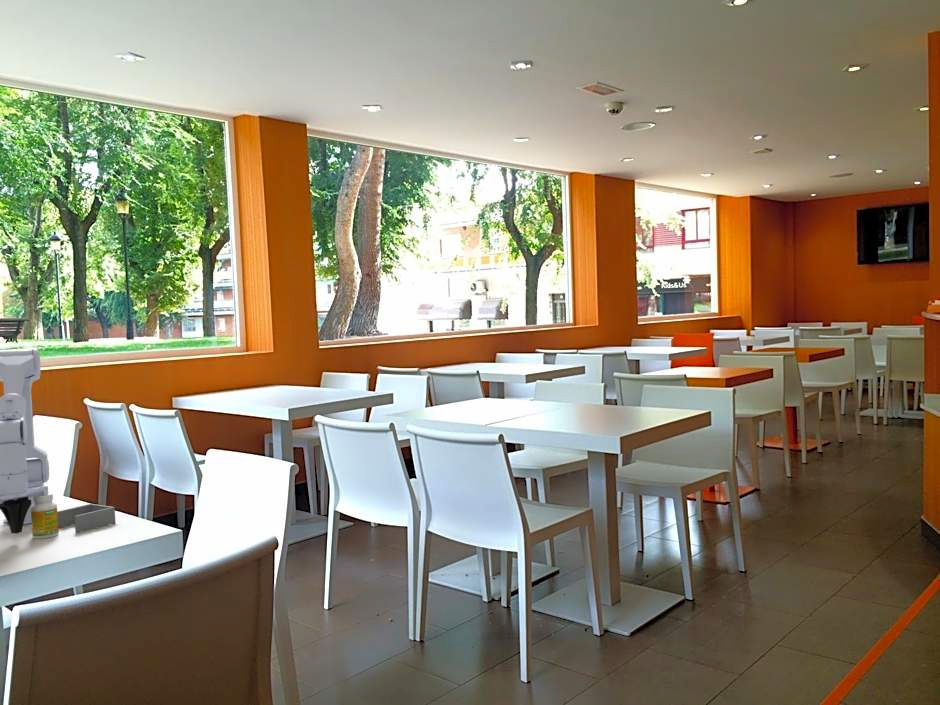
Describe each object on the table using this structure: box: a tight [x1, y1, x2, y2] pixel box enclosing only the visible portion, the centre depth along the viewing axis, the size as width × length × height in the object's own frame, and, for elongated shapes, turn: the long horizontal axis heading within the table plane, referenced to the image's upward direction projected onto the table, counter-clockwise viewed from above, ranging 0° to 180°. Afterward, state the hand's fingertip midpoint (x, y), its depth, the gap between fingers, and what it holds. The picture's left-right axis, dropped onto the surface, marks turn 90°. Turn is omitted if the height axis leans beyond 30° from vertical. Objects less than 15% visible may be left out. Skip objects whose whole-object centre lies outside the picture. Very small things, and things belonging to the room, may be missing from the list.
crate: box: [57, 503, 116, 534], centre depth 194 cm, size 10×10×4 cm
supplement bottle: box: [31, 492, 59, 540], centre depth 186 cm, size 5×5×10 cm
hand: (16, 532), depth 181 cm, fingers closed
